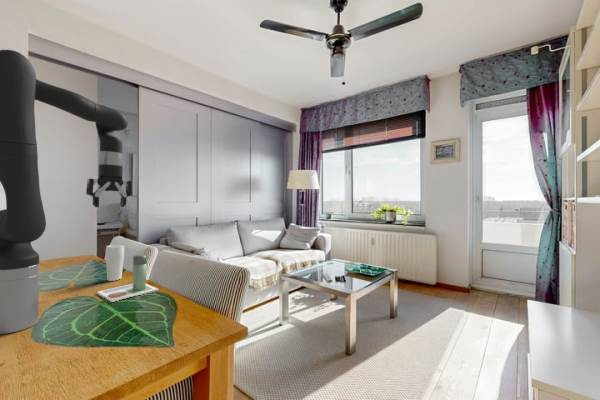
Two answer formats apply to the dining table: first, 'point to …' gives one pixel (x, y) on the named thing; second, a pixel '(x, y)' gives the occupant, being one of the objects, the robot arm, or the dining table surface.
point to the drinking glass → (114, 261)
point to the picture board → (124, 292)
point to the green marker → (139, 272)
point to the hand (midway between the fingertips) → (109, 207)
